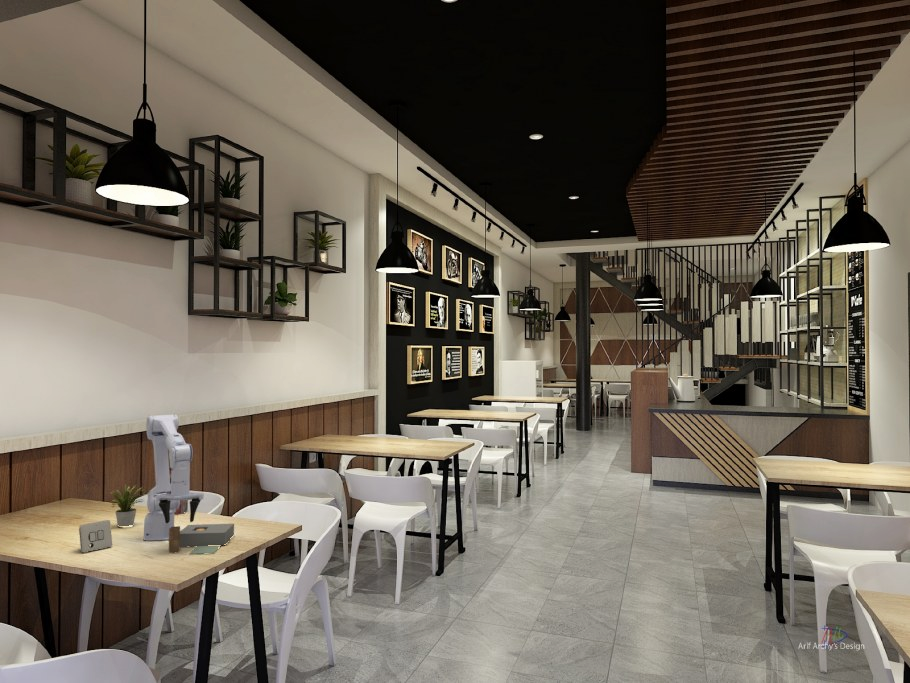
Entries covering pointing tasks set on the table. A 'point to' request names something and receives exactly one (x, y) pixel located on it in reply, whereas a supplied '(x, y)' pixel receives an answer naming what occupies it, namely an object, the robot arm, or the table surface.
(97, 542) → the electrical switch
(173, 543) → the wooden peg
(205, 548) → the mat
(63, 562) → the table surface
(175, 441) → the robot arm
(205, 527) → the panel
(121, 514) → the house plant
